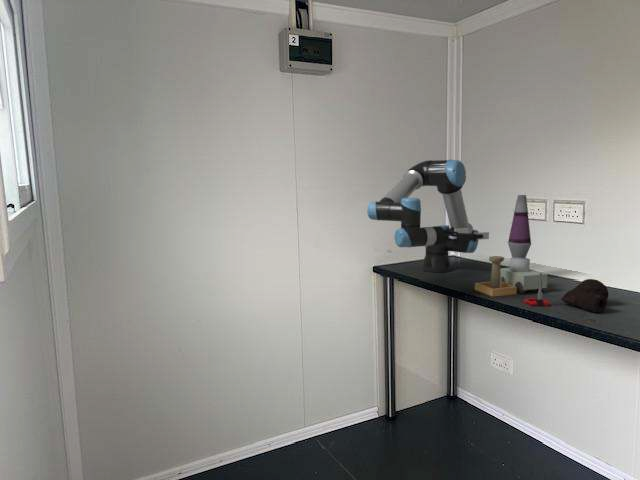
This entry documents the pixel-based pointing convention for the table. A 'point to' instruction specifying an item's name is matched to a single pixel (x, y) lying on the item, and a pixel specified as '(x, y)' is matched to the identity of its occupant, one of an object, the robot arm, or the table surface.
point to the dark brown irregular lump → (588, 296)
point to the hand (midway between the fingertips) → (478, 233)
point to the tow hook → (538, 300)
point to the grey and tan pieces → (515, 279)
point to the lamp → (520, 229)
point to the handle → (495, 271)
